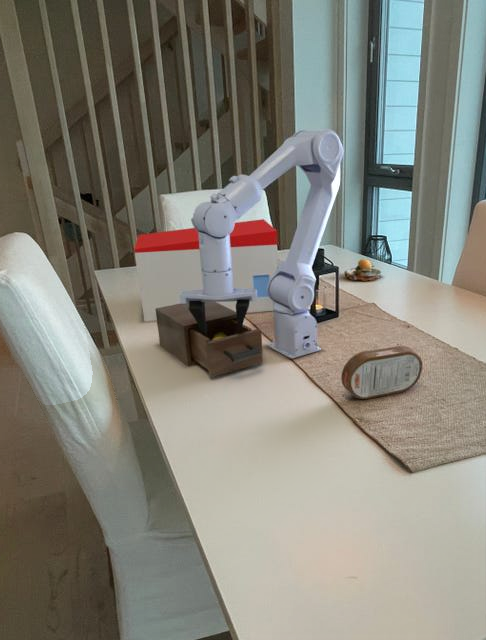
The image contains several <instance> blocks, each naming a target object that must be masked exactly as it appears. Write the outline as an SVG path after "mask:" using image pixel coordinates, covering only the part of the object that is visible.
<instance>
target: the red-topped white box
mask: <svg viewBox="0 0 486 640" xmlns="http://www.w3.org/2000/svg"><path fill="white" fill-rule="evenodd" d="M136 239H137V240H136V242H135V246H134V249H133V251H134V259H135V264H136V265H135V267H136V272H137V273H136V274H137V280H138V287H139V293H140V301H141V307H142V314H143V321H144V322H145V323H146V322H157V318H156V310H155V309H156V308H160V307H165V306H171V305H176V304H181V301H180V293H181V292H182V291H194V290H202V289H203V280H202V270H201V260H200V249H199V236H198V231H197V230H196V229H195V228H194V227H190V228H182V229H175V230H165V231H158V232H151V233H142V234H138V236H137V238H136ZM230 246H231V260H232V274H233V288H237V289H257V302H252V301H250V303H249V308H248V310H247V313H246V314H250V313H262V312H274V306H273V300H271V299H270V297H269V296H268V293H267V285H268V282H269V280H270V279H271V278H272V277H273V276H274V274H275V272H276V270H277V267H278V266H279V264H278V230H277V229H276V228H274V227H273V226H272V225H271V224H270V223H268V222H267V220H265V219H264V218H261V219H255V220H254V219H253V220H246V221H239V222H238V221H236V222H235V226H234V229H233V231H232V232H231V233H230ZM217 303H219V304H221V305H223V306H225V307H227V308H229V309H231V310H233V311H235V312H236V303H237V301H226V302H217Z"/></svg>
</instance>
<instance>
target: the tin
mask: <svg viewBox="0 0 486 640" xmlns="http://www.w3.org/2000/svg"><path fill="white" fill-rule="evenodd" d="M422 371H423V360H422V358H421V357H420V355H419V354H418V353H416V351H414V350H413V348H411V347H409V346H407V345H397V346H389V347H383V348H378V349H369V350H364V351H360V352H358V353H356V354H354V355H353V356H352V357H350V358H349V359H348V360H347V361H346V363H345V364H344V366H343V368H342V372H341V377H340V379H341V384H342V386H343V388H344V389H345V390H346V391H347V392H348V393H349V394H350V395H352V396H353V397H354V398H356V399H360V400H368V399H372V398H378V397H385V396H390V395H394V394H401V393H404V392H406V391H409V390H410V389H411V388H413V387H414V386H415V385H416V384H417V383H418V381H419V380H420V378H421V375H422Z"/></svg>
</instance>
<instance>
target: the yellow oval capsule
mask: <svg viewBox="0 0 486 640" xmlns="http://www.w3.org/2000/svg"><path fill="white" fill-rule="evenodd" d="M223 337H227V335H226V334H225V333H222V332H219V333H216V334H215V335H214V336H213V338H212V340H215V339H219V338H223Z"/></svg>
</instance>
